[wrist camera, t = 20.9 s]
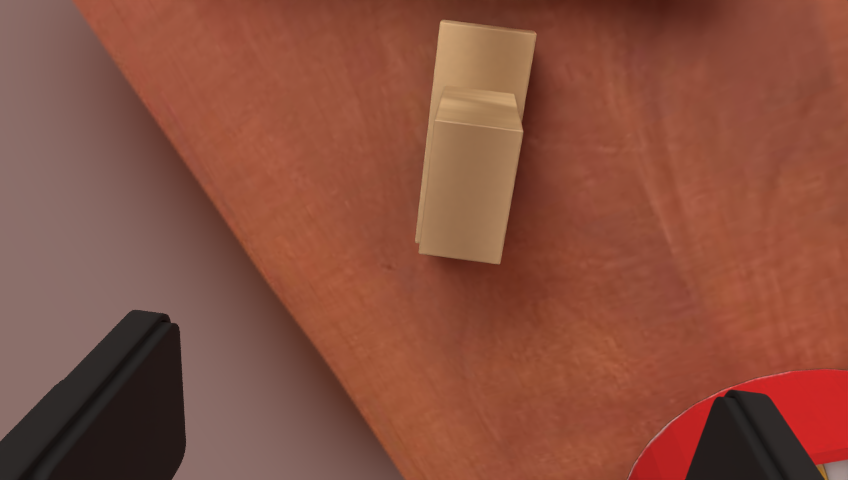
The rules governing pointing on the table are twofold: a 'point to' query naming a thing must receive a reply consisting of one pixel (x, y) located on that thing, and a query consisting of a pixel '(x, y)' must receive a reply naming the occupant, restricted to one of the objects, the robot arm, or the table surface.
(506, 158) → the brush
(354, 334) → the table surface
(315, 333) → the table surface
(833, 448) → the toy clock
